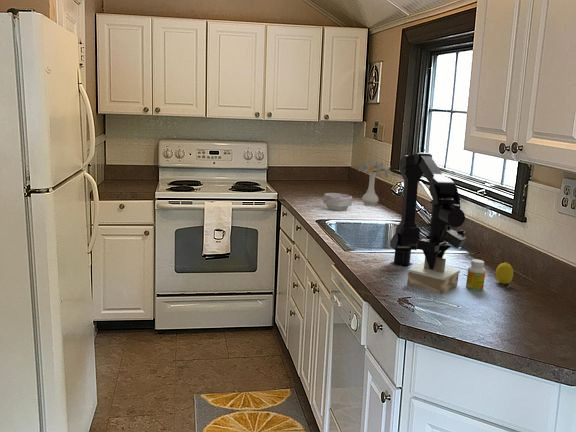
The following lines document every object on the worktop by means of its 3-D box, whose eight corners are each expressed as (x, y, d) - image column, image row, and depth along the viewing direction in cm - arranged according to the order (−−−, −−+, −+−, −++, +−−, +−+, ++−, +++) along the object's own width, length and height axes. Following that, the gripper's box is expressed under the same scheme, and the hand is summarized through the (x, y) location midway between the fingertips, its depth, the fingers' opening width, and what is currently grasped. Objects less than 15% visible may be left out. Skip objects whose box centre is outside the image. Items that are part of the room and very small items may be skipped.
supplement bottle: (471, 292, 189) (475, 263, 187) (462, 287, 194) (465, 258, 192) (486, 292, 190) (490, 263, 188) (476, 287, 195) (480, 258, 193)
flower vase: (390, 207, 334) (394, 163, 329) (359, 206, 329) (363, 161, 324) (380, 203, 346) (384, 160, 341) (351, 202, 341) (354, 159, 336)
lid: (424, 264, 200) (425, 250, 199) (459, 272, 192) (461, 258, 192) (407, 271, 190) (409, 256, 189) (444, 280, 183) (446, 265, 182)
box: (422, 278, 200) (424, 264, 199) (456, 287, 193) (458, 272, 192) (406, 286, 191) (408, 271, 190) (442, 295, 184) (443, 280, 183)
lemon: (497, 281, 203) (500, 259, 202) (513, 285, 200) (517, 262, 198) (491, 284, 199) (494, 261, 197) (508, 288, 196) (511, 265, 194)
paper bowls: (356, 209, 320) (357, 195, 318) (343, 213, 307) (344, 198, 305) (331, 205, 328) (332, 191, 326) (317, 209, 315) (318, 194, 313)
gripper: (452, 229, 176) (446, 279, 179) (475, 221, 191) (469, 268, 194) (417, 222, 182) (412, 271, 185) (442, 215, 197) (437, 260, 200)
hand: (434, 267), depth 191 cm, fingers open, 4 cm apart
